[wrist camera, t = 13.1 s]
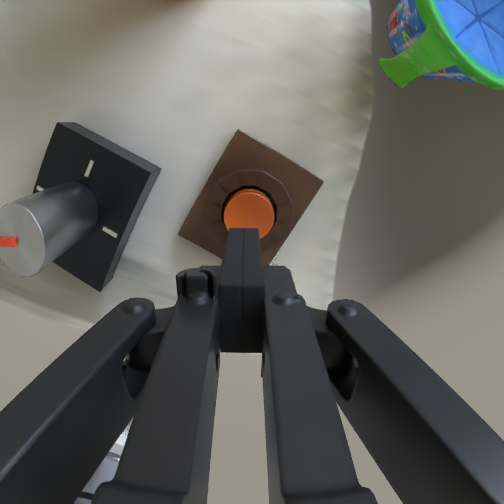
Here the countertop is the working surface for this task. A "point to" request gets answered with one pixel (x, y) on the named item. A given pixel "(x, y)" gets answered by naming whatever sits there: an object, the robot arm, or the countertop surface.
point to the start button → (249, 211)
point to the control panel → (97, 196)
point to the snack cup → (447, 41)
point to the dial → (45, 226)
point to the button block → (250, 177)
